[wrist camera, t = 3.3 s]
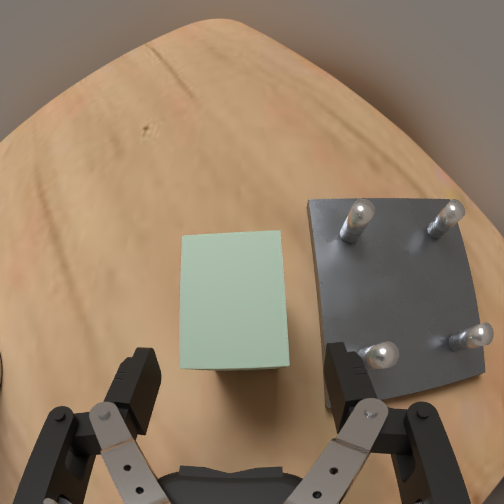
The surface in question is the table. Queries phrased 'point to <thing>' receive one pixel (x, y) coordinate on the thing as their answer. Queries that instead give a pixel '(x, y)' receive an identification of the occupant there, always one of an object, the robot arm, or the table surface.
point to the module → (233, 302)
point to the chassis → (397, 290)
